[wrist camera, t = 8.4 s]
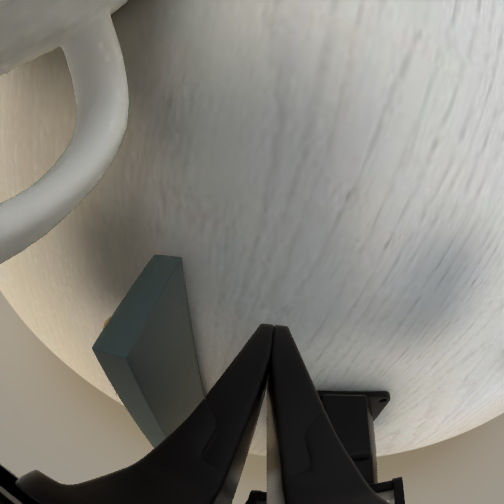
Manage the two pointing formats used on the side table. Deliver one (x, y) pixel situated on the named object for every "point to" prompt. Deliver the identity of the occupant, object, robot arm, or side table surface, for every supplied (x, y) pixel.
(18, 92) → the side table surface
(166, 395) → the door
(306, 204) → the side table surface
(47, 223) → the mug
